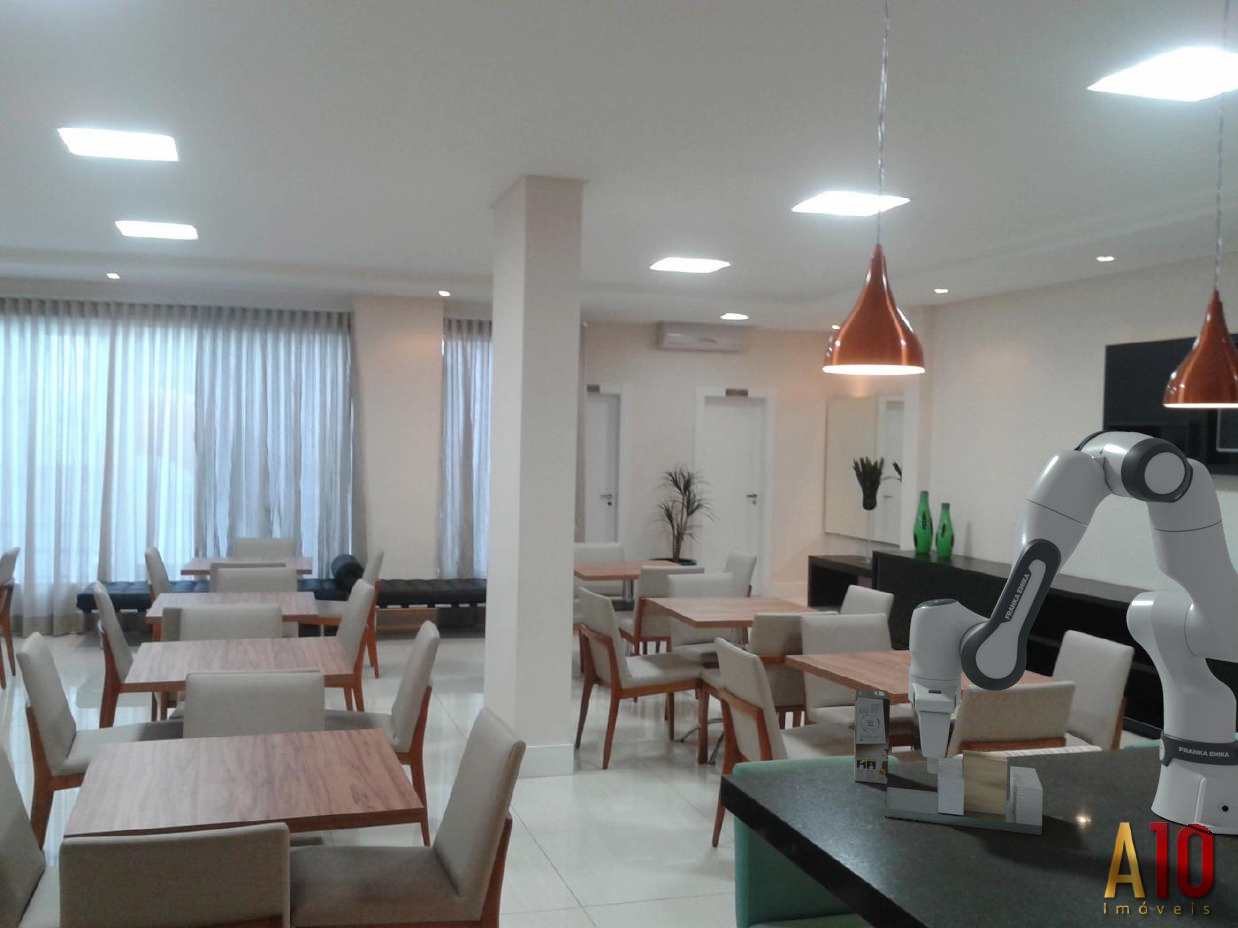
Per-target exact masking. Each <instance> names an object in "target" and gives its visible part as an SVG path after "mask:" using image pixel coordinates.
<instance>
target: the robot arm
mask: <svg viewBox="0 0 1238 928" xmlns="http://www.w3.org/2000/svg"><path fill="white" fill-rule="evenodd" d="M1110 495H1115V496H1118V497H1122V498H1129V499H1135V500H1137V501H1140V502H1145V503H1146V506H1147V509H1148V510H1147V511H1148V520H1149V526H1150V532H1151V539H1152V544H1153V550H1154V551H1153V552H1154V556H1155V557H1154V558H1155V562H1156V565H1157V566H1158V569H1160V571H1161V572H1162V573H1163V574H1164V575H1165V576H1166V577H1168V578H1170V579H1171V580H1173V581H1174V582H1176V583H1177V584H1179V585H1180V586H1181V587H1182V588H1183V589H1184V591H1178V590H1177V591H1176V590H1169V589H1168V590H1167V589H1166V590H1165V589H1164V590H1154V591H1145V592H1141V593H1139V594H1137V595H1136V596H1135V597H1134V598H1133V599H1132V601H1131V602H1130V604H1129V606H1128V609H1127V612H1126V625H1127V628H1128V631H1129V633H1130V635H1131V636H1132V638H1133V640H1134V641H1136V642H1137V643H1138V644H1139V645H1140V646H1141V647H1142V649H1144V650H1145V651H1146V653H1147V655H1149V657H1150V659H1151V660H1152V662H1153V664H1154V667H1155V668H1156V670H1157V672H1158V675H1159V678H1160V682H1161V686H1162V695H1163V730H1161V732H1160V739H1159V760H1160V763H1161V766H1160V767H1161V768H1160V774H1159V779H1158V785H1157V789H1156V794H1155V796H1154V800H1153V802H1152V804H1151V808H1150V809H1151V811H1152V812H1153V813H1154V814H1156V815H1158V816H1159V817H1162V818H1164V819H1166V820H1169V821H1172V822H1175V823H1178V824H1180V825H1181V824H1182V825H1185V826H1188V824H1199V825H1201V826H1205V827H1206V828H1208V830H1210V831H1211V832H1212V833H1211V834H1221V835H1222V834H1224V835H1238V739H1237V738H1236V723H1237V721H1236V720H1237V700H1236V697H1235V695H1234V692H1233V691H1232V689H1231V688H1230V687H1229V686H1228V685H1227V684H1225V682H1223V681H1221V680H1219V679H1218V678H1217V677H1216V676H1215V675H1214V674H1213V673H1212V671H1211V670H1210V668H1209V665H1208V663H1207V660H1206V659H1213V660H1218V661H1223V662H1224V661H1225V662H1231V663H1237V664H1238V572H1237V570H1236V569H1235V567H1234V565H1233V563H1232V560H1231V557H1230V553H1229V549H1228V545H1227V541H1226V535H1225V530H1224V525H1223V518H1222V517H1223V516H1222V513H1221V507H1220V502H1219V497H1218V494H1217V490H1216V489H1215V485H1214V482H1213V479H1212V477H1211V474H1210V472H1209V470H1208V468H1207V467H1206V466H1205V464H1204V463H1202V462H1200V461H1198V460H1196V459H1193V458H1189V457H1186V455H1185V454H1184V452H1183V451H1182V450H1181V449H1180V448H1179V447H1177V446H1176V445H1175V444H1173V443H1172V442H1170V441H1168V440H1166V439H1163V438H1160V437H1153V436H1151V435H1147V434H1144V433H1140V432H1136V431H1135V432H1134V431H1129V432H1127V431H1119V430H1116V429H1105V430H1099V431H1096V432H1095V431H1094V432H1093V433H1091V434H1088V435H1087V436H1086V437H1085V438H1084V439H1083V440H1082V441H1080V443H1079V444H1078V445H1077V447H1075V448H1074V449H1062V450H1059V451H1057V452H1055V453H1054V454H1052V455H1051V456H1050V458H1049V459H1048V460H1047V462H1046V463H1045V465H1043V467H1042V469H1041V470H1040V471H1039V473H1038V474H1037V476H1036V477H1035V479H1034V480H1033V482H1032V484H1031V485H1030V488H1029V489H1028V491H1027V493H1026V495H1025V497H1024V499H1023V500H1022V503H1021V505H1020V507H1019V510H1018V512H1017V514H1016V518H1015V521H1014V524H1013V529H1012V532H1011V546H1012V563H1011V570H1010V572H1009V576H1008V578H1007V580H1006V581H1007V582H1006V583H1005V585H1004V587H1003V590H1002V591H1001V594H1000V596H999V598H998V599H997V603H996V605H995V607H994V609H993V612H992V613H991V616H990V617H989V618H987V617H985V616H982V615H979V614H978V613H976V612H974V611H972V610H971V609H969V608H967V607H965V606H964V605H962V604H961V603H960V602H959V601H958V600H957V599H953V598H937V599H929V600H927V601H923V602H921V603H919V604H918V605H917V606H915V608H914V609H913V612H912V615H911V620H910V621H911V622H910V629H909V647H908V648H909V649H908V650H909V652H910V657H911V660H910V661H911V662H910V667H909V668H908V669H909V670H908V691H907V692H908V693H907V700H908V701H909V702H911V703H912V705H913V707H914V710H915V711H916V713H917V717H918V718H917V719H918V726H919V735H920V736H919V738H920V747H921V753H922V756H923V757H924V758H926V760H927V764H926V765H927V768H926V769H927V772H928V774H935V775H936V774H937V775H938V763H939V759H943V758H946V753H947V746H948V740H949V732H950V727H951V726H950V725H951V719H952V714H954V713H955V711H956V708H957V707H958V706H960V705H961V704H962V703H961V702H962V701H961V700H962V673H964V675H965V677H966V678H967V679H968V680H969V681H970V682H971V683H972V684H973V685H975V686H976V687H977V688H980V689H982V690H986V691H991V692H998V691H999V692H1000V691H1004V690H1005V691H1006V690H1007V689H1010V688H1012V687H1013V686H1015V685H1016V684H1017V683H1019V681H1020V680H1021V679H1022V678H1023V676H1024V673H1025V671H1026V667H1027V662H1028V661H1027V658H1028V657H1027V656H1028V655H1027V645H1028V644H1027V643H1028V637H1029V633H1030V632H1031V629H1032V627H1033V625H1034V622H1035V620H1036V618H1037V617H1038V615H1039V612H1040V609H1041V606H1042V605H1043V603H1044V600H1045V598H1046V596H1047V594H1048V592H1049V590H1050V589H1051V588H1050V587H1051V586H1052V584H1053V582H1054V581H1055V580H1056V578H1057V576H1058V574H1059V573H1060V571H1061V570H1062V569H1063V567H1064V566H1065V565H1066V563H1067V562H1068V560H1069V558H1070V557H1071V556H1072V554H1073V553H1074V552H1075V550H1077V549H1076V548H1078V545H1079V544H1080V542H1081V540H1082V539H1083V537H1084V535H1085V533H1086V532H1087V529H1088V527H1089V525H1090V523H1091V521H1092V519H1093V517H1094V514H1095V512H1096V509H1097V507H1098V506H1099V505H1100V504H1101V502H1102V501H1103V500H1104V499H1106V498H1107V497H1109V496H1110Z"/></svg>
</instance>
